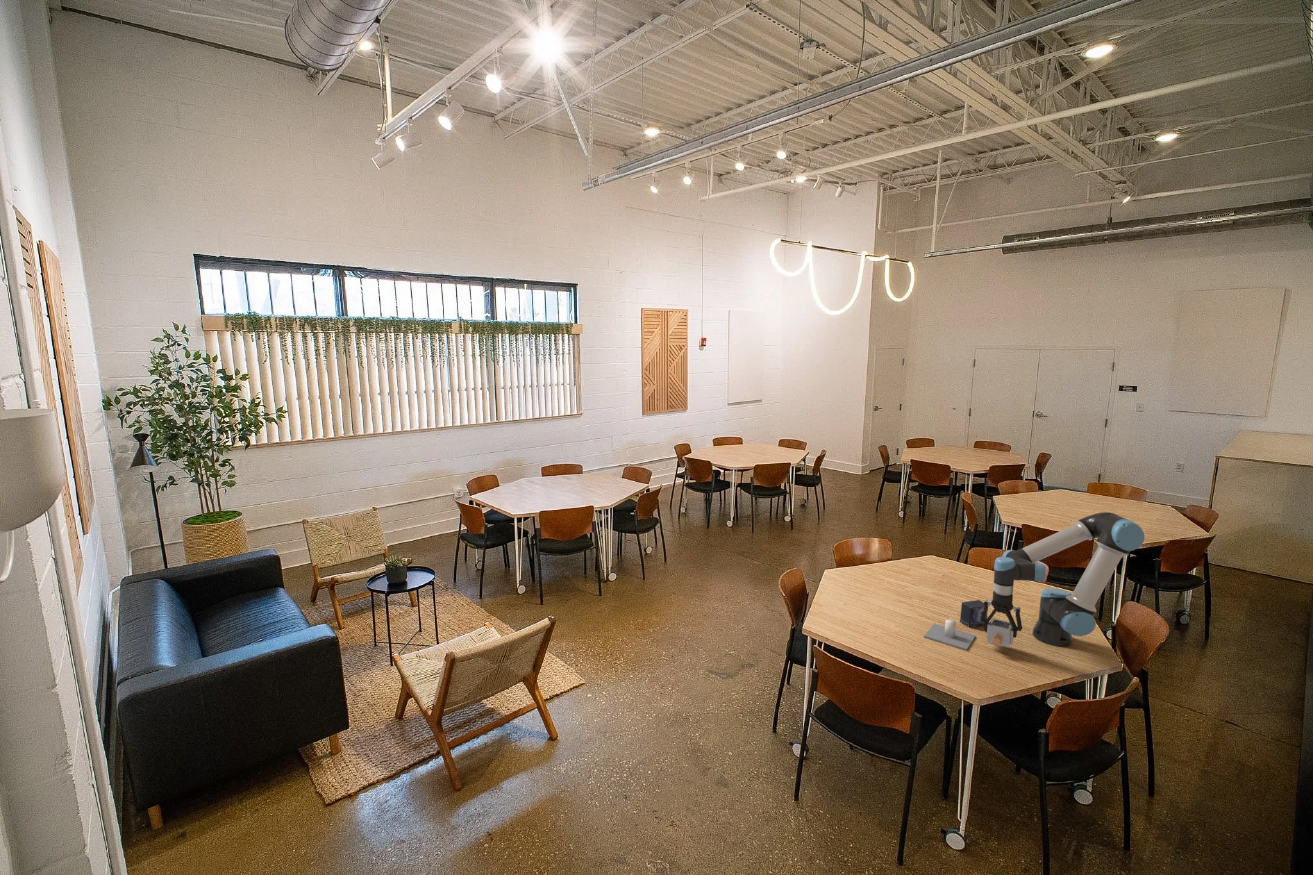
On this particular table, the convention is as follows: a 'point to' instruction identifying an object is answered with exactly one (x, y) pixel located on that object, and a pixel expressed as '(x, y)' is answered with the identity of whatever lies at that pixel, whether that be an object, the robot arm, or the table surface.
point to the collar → (999, 632)
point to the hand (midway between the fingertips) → (1000, 640)
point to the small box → (972, 613)
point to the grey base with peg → (950, 635)
